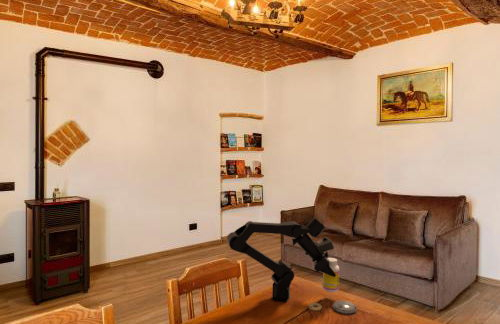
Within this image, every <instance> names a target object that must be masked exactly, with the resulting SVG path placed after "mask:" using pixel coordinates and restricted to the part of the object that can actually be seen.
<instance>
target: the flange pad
mask: <svg viewBox="0 0 500 324" xmlns="http://www.w3.org/2000/svg"><path fill="white" fill-rule="evenodd" d="M332 309H333V311H335V312H336V313H338V314H341V315H353V314H355V313H356V312H357V306H356V305H355V304H354V303H352V302H351V301H348V300H337V301H335V302H333V303H332Z"/></svg>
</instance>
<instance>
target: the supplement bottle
mask: <svg viewBox="0 0 500 324" xmlns="http://www.w3.org/2000/svg"><path fill="white" fill-rule="evenodd" d="M327 259H328V260H329V265H330V267H331V268H332V270H333V271H334V273H335V274H336V276H335V277H333V276H330V275H328V274H325V273H323V272H322V289H323V290H324V291H325V292H328V293H337V292H339V289H340V266H339V265H338V259H337V258H334V257H328V258H327Z"/></svg>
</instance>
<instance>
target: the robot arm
mask: <svg viewBox="0 0 500 324" xmlns="http://www.w3.org/2000/svg"><path fill="white" fill-rule="evenodd" d="M324 230H326V227H325V225H324V224H323V223H321V222H320V220H318V219H317V218H316V217H312V218H311V220H310V221H309V222H308V223H307V224H306V225H304V224H299V223H298V222H296V221H294V220H293V221H292V220H288V221H283V222H279V223H277V222H275V223H274V222H263V221H262V222H259V221H252V220H249V221H247V222H246V223H245V224H243V225H241V226H240V227H238V228H236V230H235V231H232V232H229V233H228V234H227V235H226V242H227V244H228V246H229V248H230V249H231V250H233V251H235V252H238V253H241V254H244V255H247V256H248V257H250V258H251V259H253V260H255V261H256V262H258V263H259V264H261V265H262V266H264V267H265V268H266V269H269V270H270V271H271V272H272V273H273V274H272V275H271V277H270V278H271V280H272V282H273V283H272V296H271V301H274V302H279V303H280V302H282V303H287V302H288V300H289V299H290V297H291V288H290V287H291V283H292V282H293V280H294V278H295V272H294V271H293V268H292V267H291V265H289V264H288V263H286V262H284V261H283V260H282V259H279V261H276V260H274V259H272V258H271V257H270V256H268V255H267V254H264V253H263V252H262V251H260V250H259V249H257V248H255V247H254V246H252V245H251V244H249V243H248V242H247V241H248V240H249V239H250V237H251V236H252V235H253V234H256V233H257V234H258V233H259V234H273V235H274V234H276V235H277V234H278V235H282V236H286V237H288V238H289V237H290V238H291V245H292V246H295V245H296V244H297V245H298V246H299V247H300V248H301V250H302V251H304V253H305V255H306V256H308V257H309V258H310V259H311V261H312V262H313V267H314V268H313V270H314V271H315V272H316V273H319V272H321V273H322V274H323V273H325V274H328V275H330V276H333V277H335V276H336V274H335V273H334V271H333V270H332V268H331V267H330V265H329V260H328V259H327V258H329V253H328V251H330V250H334V249H335V245H334V243H333V240H332V239H331V238H328V237H326V236H325V237H322V241H320V242H319V243H318V242H317V241H314V240H313V239H312V238H314V239H315V238H316V239H317V237H319V235H321V234H322V233H323V232H324Z"/></svg>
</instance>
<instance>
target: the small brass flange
mask: <svg viewBox="0 0 500 324" xmlns="http://www.w3.org/2000/svg"><path fill="white" fill-rule="evenodd" d="M308 309H309V310H310V311H312V312H321V311H322V309H323V308H322V305H321V304H320V303H317V302H311V303H309V304H308Z"/></svg>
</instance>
